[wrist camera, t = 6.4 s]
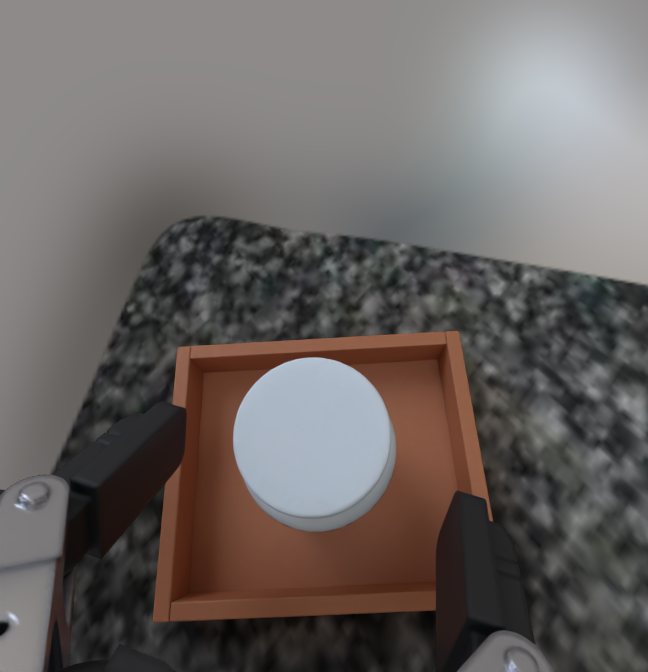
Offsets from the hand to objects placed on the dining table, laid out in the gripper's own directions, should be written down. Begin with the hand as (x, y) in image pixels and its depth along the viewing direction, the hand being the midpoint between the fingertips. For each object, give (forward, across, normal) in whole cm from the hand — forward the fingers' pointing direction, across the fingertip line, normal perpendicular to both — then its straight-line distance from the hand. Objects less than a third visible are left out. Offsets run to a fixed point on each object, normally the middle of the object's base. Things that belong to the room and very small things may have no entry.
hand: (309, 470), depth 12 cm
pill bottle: (+5, 0, +4) cm, 7 cm away
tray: (+5, 0, +4) cm, 7 cm away
